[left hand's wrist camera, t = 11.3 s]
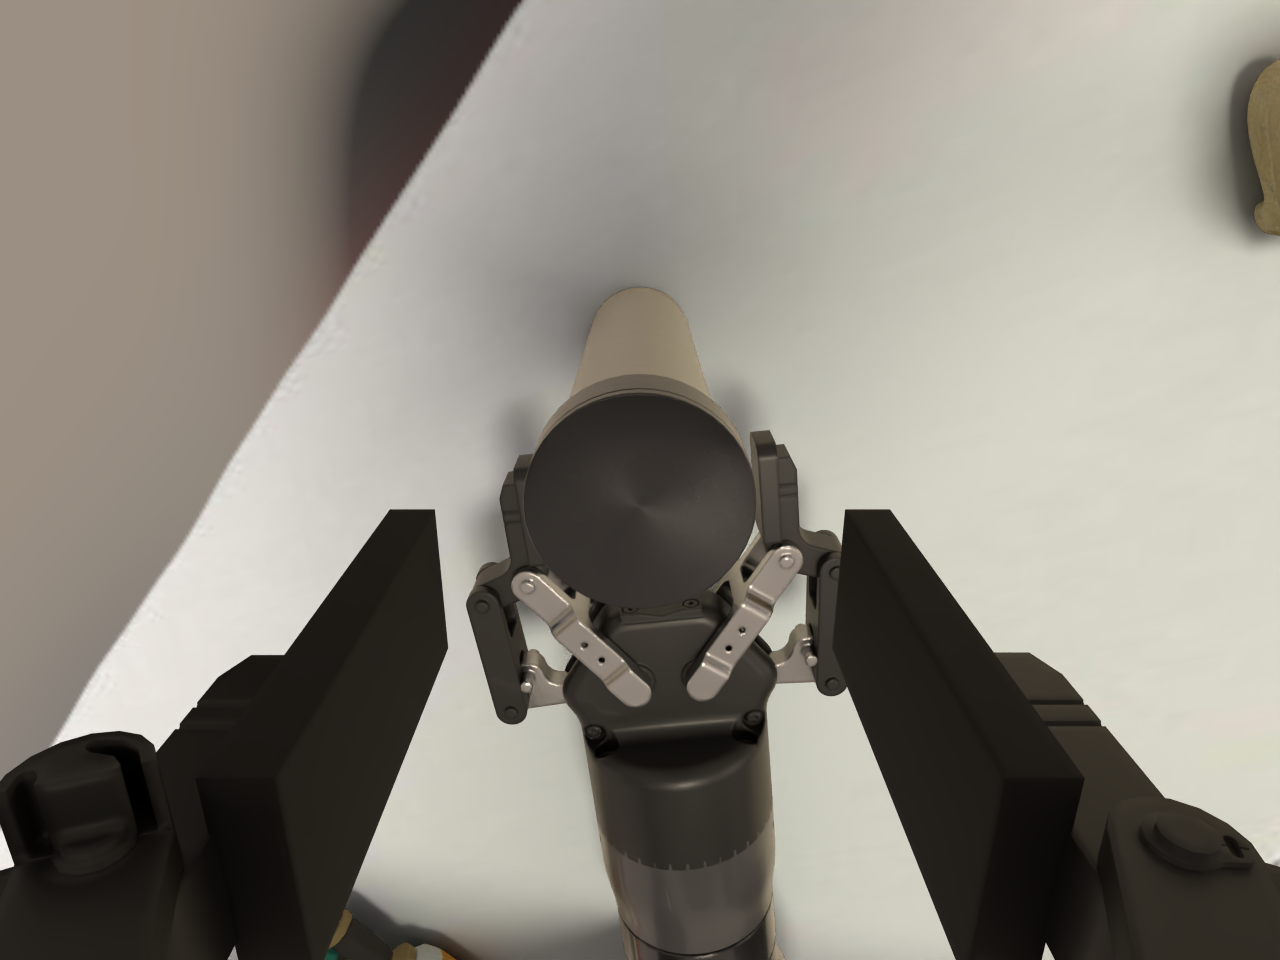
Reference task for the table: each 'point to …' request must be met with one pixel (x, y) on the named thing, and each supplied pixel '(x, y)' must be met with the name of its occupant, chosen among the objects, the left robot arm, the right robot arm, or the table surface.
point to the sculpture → (1266, 145)
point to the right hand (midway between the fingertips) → (642, 448)
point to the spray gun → (374, 945)
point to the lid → (639, 492)
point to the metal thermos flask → (640, 341)
